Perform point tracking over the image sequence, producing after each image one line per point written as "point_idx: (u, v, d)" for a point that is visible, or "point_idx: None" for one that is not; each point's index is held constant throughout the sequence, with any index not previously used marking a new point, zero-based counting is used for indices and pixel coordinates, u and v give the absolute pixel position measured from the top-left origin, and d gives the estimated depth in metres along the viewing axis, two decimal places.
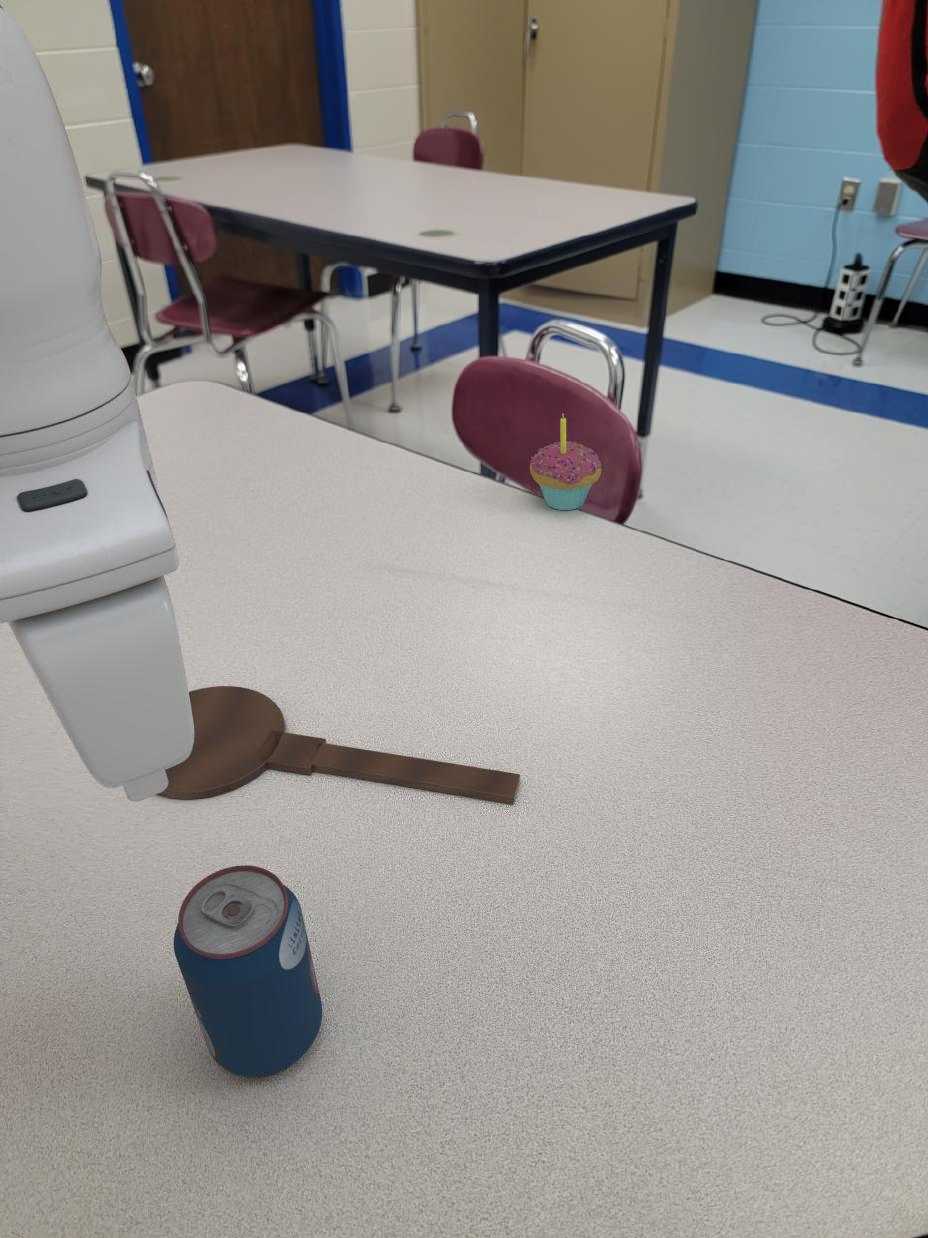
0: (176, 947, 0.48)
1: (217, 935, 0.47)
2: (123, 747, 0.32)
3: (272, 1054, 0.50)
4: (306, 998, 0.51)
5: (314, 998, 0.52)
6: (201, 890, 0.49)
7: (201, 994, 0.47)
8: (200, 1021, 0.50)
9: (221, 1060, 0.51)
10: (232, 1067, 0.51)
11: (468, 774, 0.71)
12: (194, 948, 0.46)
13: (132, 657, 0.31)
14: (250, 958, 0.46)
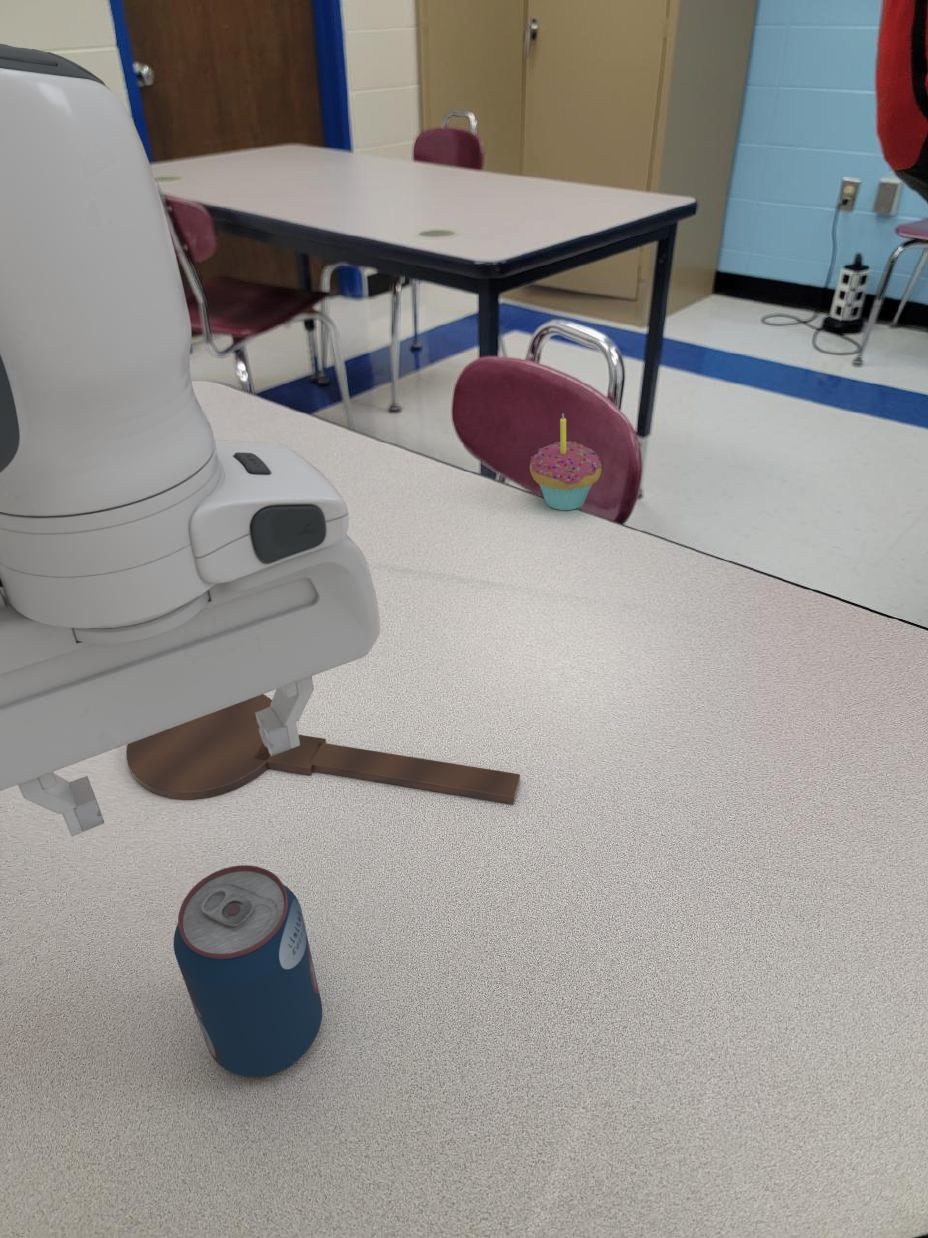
0: (176, 947, 0.48)
1: (217, 935, 0.47)
2: None
3: (272, 1054, 0.50)
4: (306, 997, 0.51)
5: (314, 998, 0.52)
6: (201, 890, 0.49)
7: (201, 994, 0.47)
8: (200, 1021, 0.50)
9: (221, 1060, 0.51)
10: (232, 1067, 0.51)
11: (468, 774, 0.71)
12: (194, 948, 0.46)
13: None
14: (249, 958, 0.46)
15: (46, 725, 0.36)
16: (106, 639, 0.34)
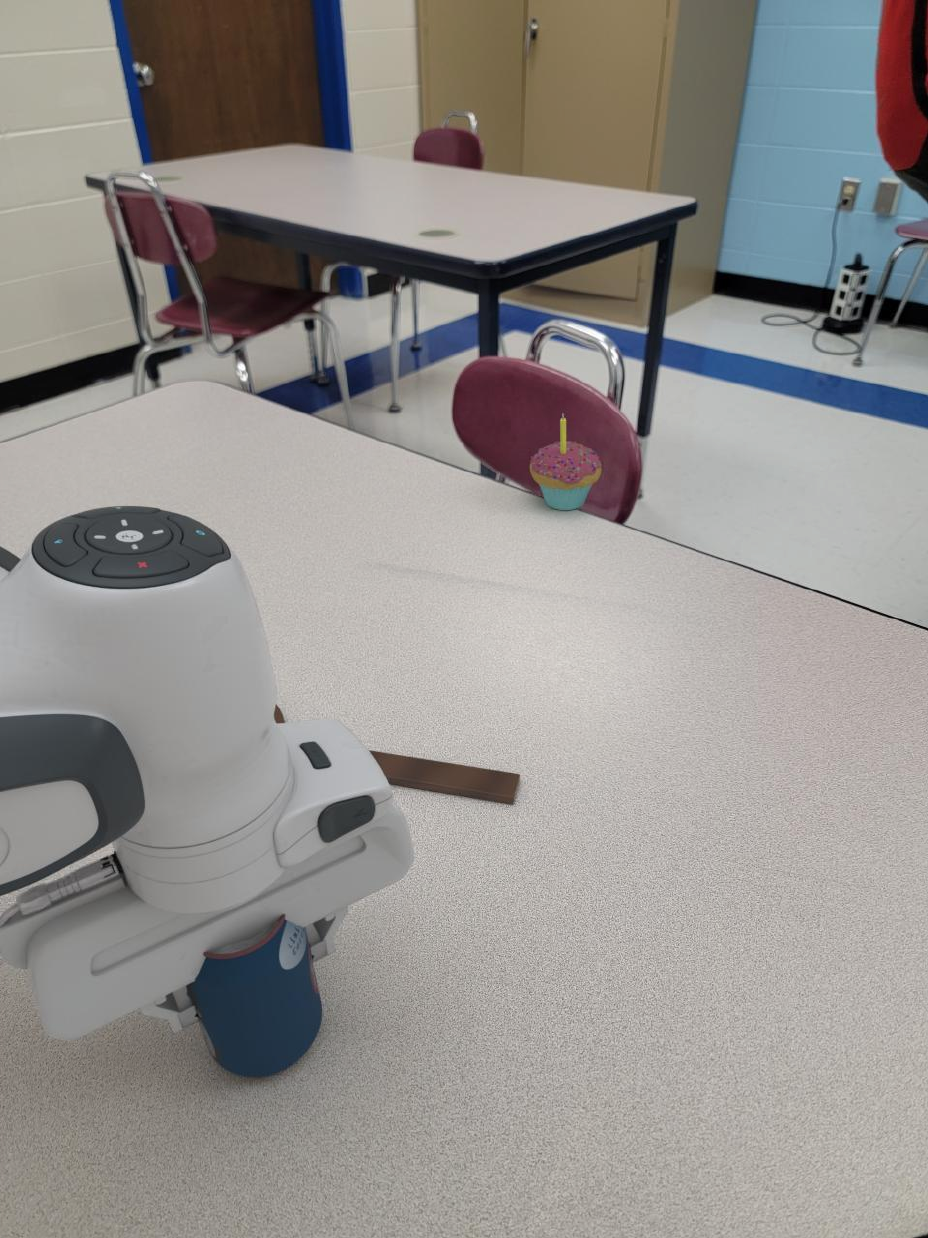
0: None
1: None
2: None
3: (272, 1054, 0.50)
4: (306, 998, 0.51)
5: (314, 998, 0.52)
6: None
7: (201, 995, 0.47)
8: (200, 1021, 0.50)
9: (221, 1060, 0.51)
10: (232, 1067, 0.51)
11: (468, 774, 0.71)
12: None
13: None
14: (250, 958, 0.46)
15: (153, 971, 0.45)
16: None
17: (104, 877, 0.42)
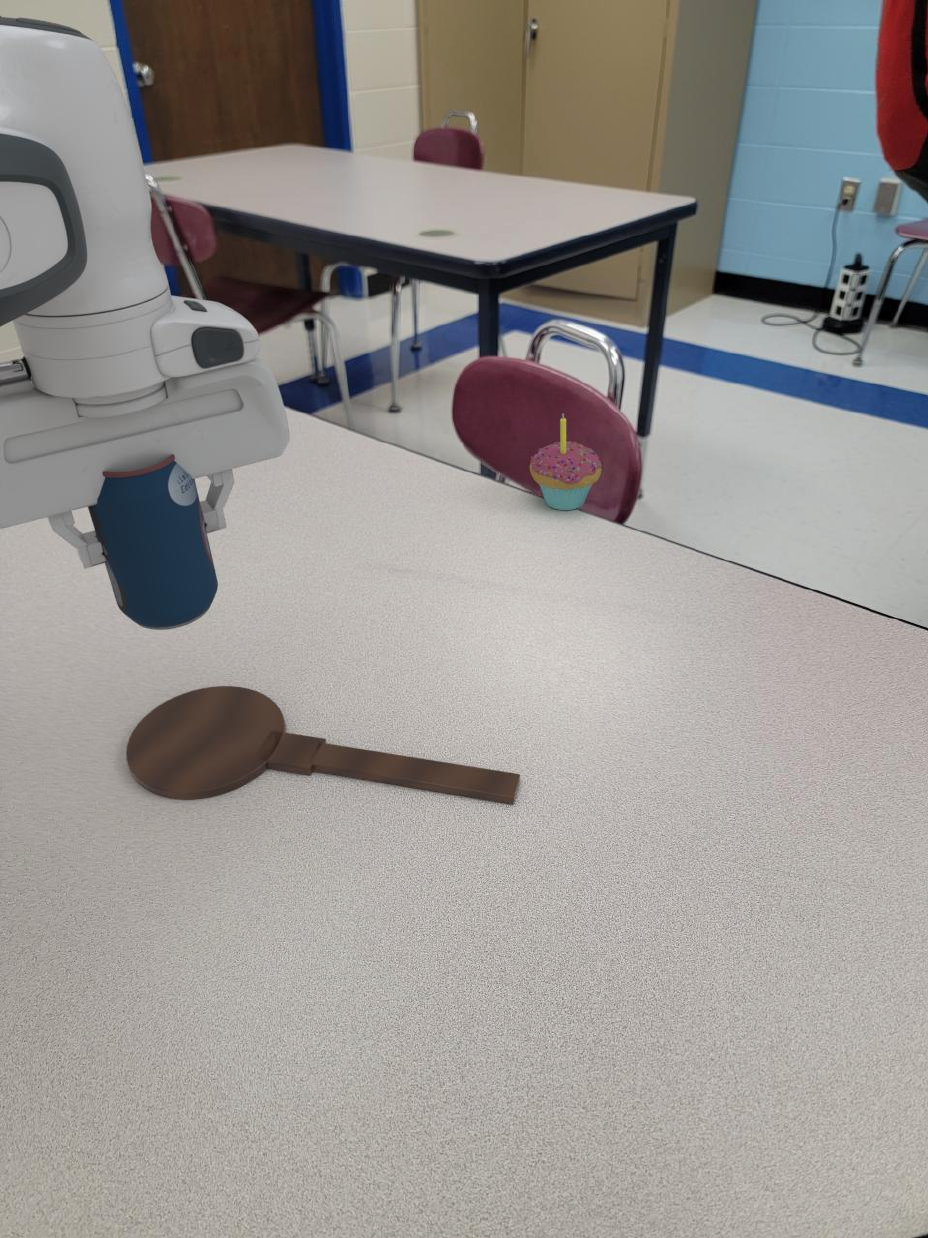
0: None
1: None
2: None
3: (168, 594, 0.60)
4: (197, 549, 0.60)
5: (207, 559, 0.62)
6: None
7: (104, 519, 0.57)
8: (107, 563, 0.60)
9: (127, 605, 0.61)
10: (136, 610, 0.61)
11: (468, 774, 0.71)
12: None
13: None
14: (142, 480, 0.56)
15: (58, 475, 0.54)
16: (98, 412, 0.53)
17: (14, 371, 0.51)
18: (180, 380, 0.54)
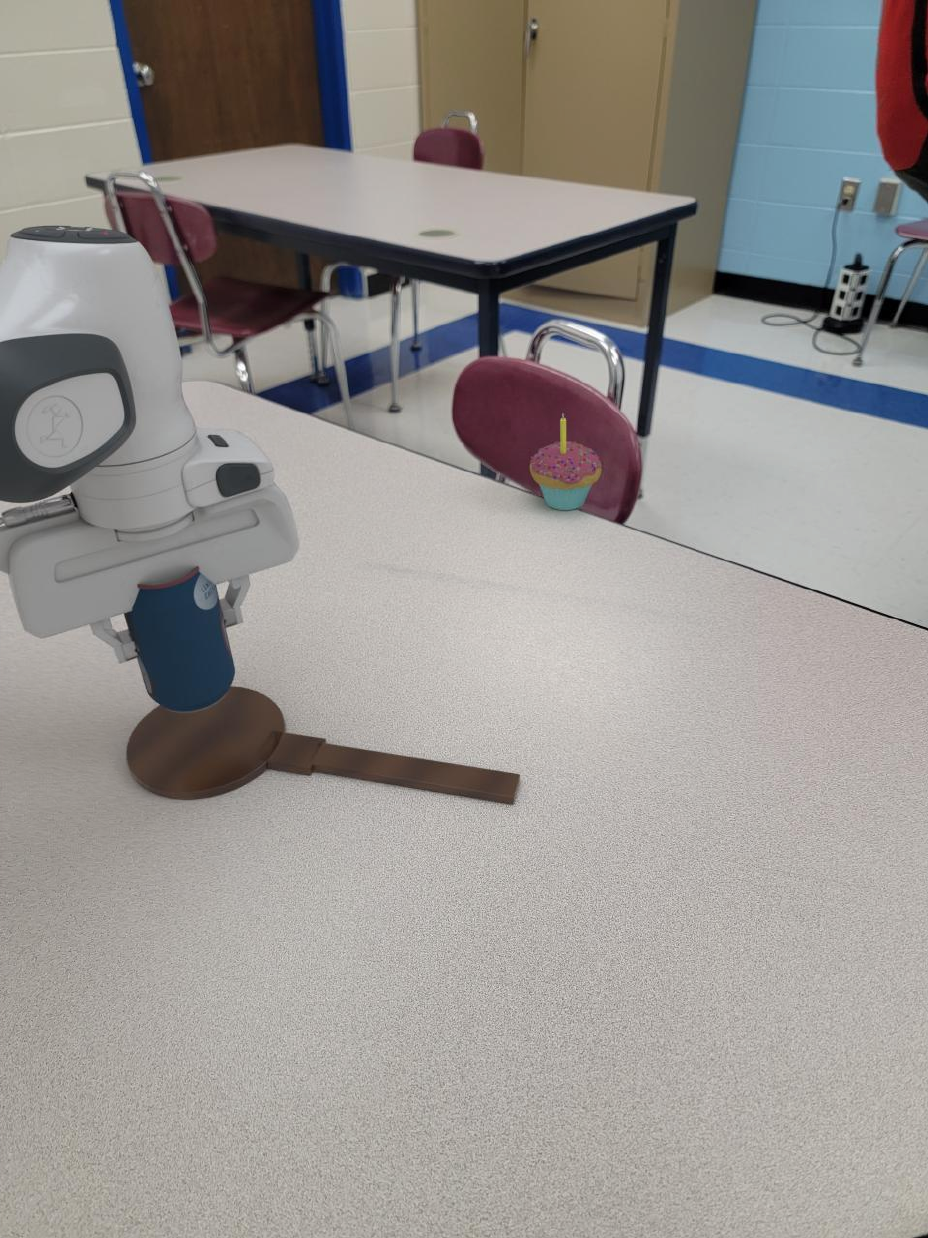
0: None
1: None
2: None
3: (193, 685, 0.68)
4: (218, 644, 0.68)
5: (226, 651, 0.70)
6: None
7: (137, 623, 0.65)
8: (139, 657, 0.68)
9: (156, 693, 0.69)
10: (164, 698, 0.69)
11: (468, 774, 0.71)
12: None
13: None
14: (171, 591, 0.64)
15: (100, 590, 0.62)
16: (135, 538, 0.61)
17: (63, 506, 0.59)
18: (205, 507, 0.62)
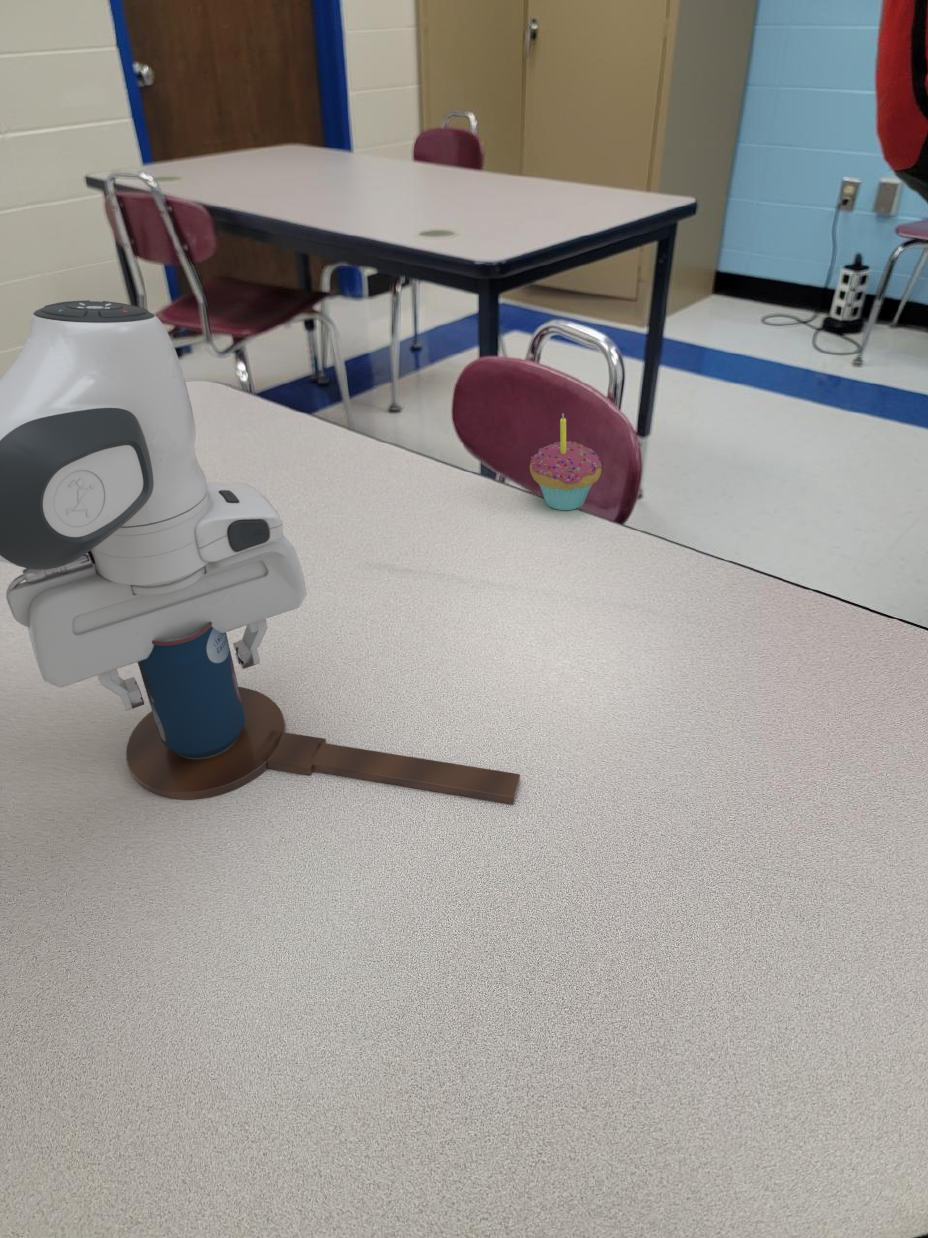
0: None
1: None
2: None
3: (205, 733, 0.71)
4: (229, 694, 0.71)
5: (236, 700, 0.73)
6: None
7: (152, 677, 0.68)
8: (153, 708, 0.71)
9: (169, 741, 0.72)
10: (177, 746, 0.72)
11: (468, 774, 0.71)
12: None
13: None
14: (185, 647, 0.67)
15: (115, 641, 0.65)
16: (149, 592, 0.63)
17: (81, 562, 0.62)
18: (217, 561, 0.65)
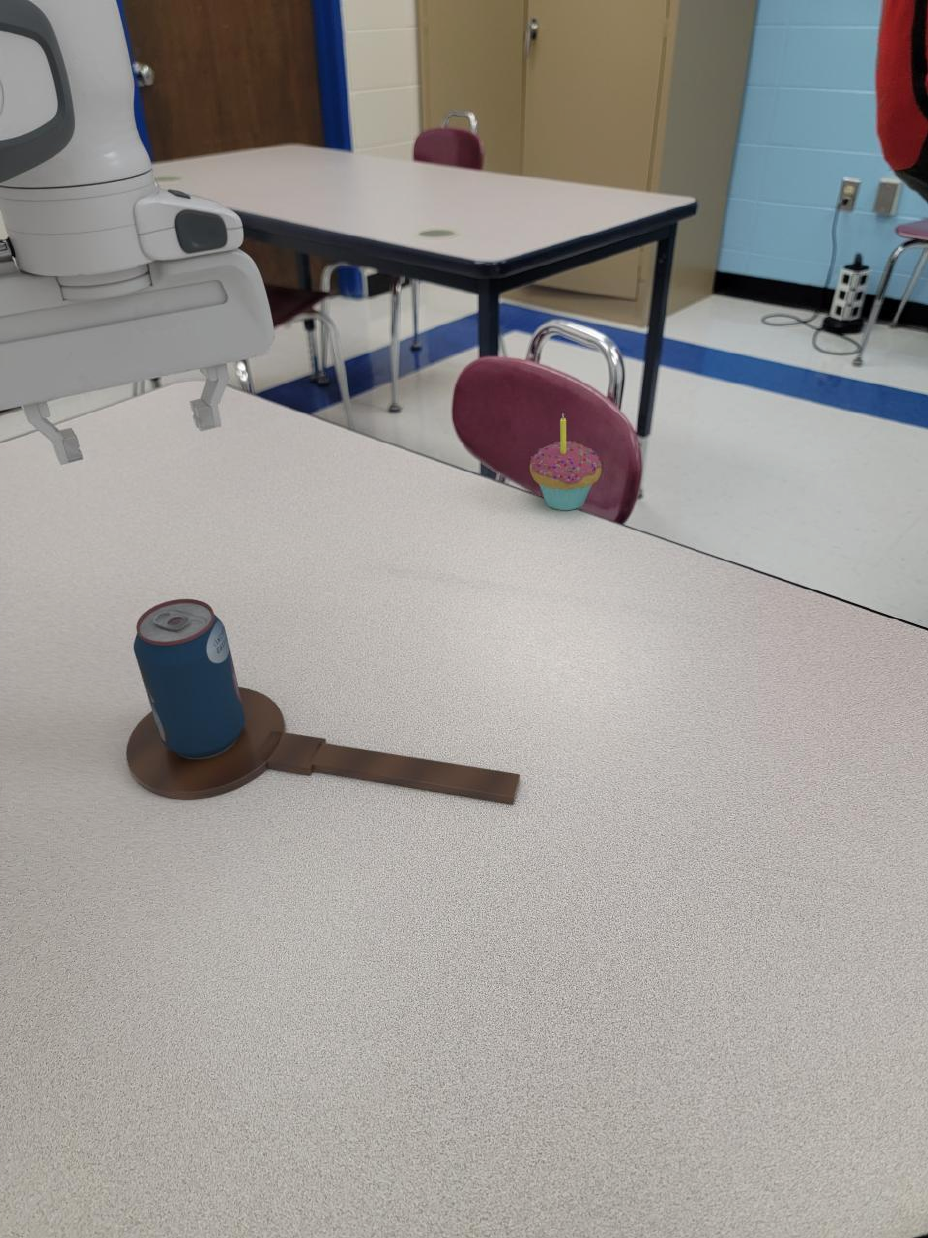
0: (135, 645, 0.68)
1: (163, 634, 0.68)
2: None
3: (205, 733, 0.71)
4: (229, 694, 0.71)
5: (236, 700, 0.73)
6: (153, 612, 0.70)
7: (152, 677, 0.68)
8: (153, 708, 0.71)
9: (169, 741, 0.72)
10: (177, 746, 0.72)
11: (468, 774, 0.71)
12: (146, 639, 0.67)
13: None
14: (185, 647, 0.67)
15: (43, 360, 0.55)
16: (82, 294, 0.53)
17: None
18: (164, 266, 0.55)
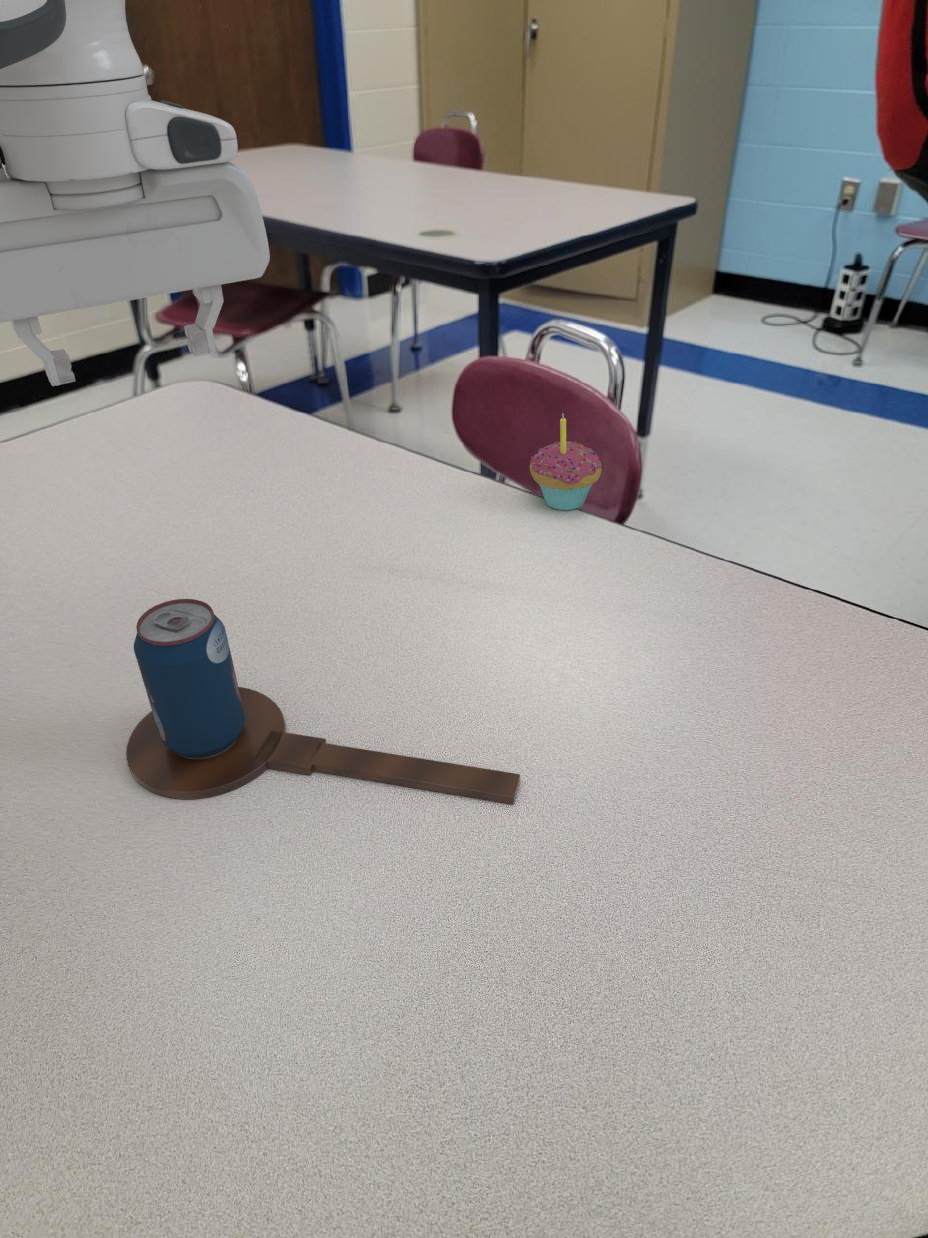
0: (135, 645, 0.68)
1: (163, 634, 0.68)
2: None
3: (205, 733, 0.71)
4: (229, 694, 0.71)
5: (236, 700, 0.73)
6: (153, 612, 0.70)
7: (152, 677, 0.68)
8: (153, 708, 0.71)
9: (169, 741, 0.72)
10: (177, 746, 0.72)
11: (468, 774, 0.71)
12: (146, 639, 0.67)
13: None
14: (185, 647, 0.67)
15: (34, 272, 0.54)
16: (73, 203, 0.52)
17: None
18: (157, 176, 0.54)
